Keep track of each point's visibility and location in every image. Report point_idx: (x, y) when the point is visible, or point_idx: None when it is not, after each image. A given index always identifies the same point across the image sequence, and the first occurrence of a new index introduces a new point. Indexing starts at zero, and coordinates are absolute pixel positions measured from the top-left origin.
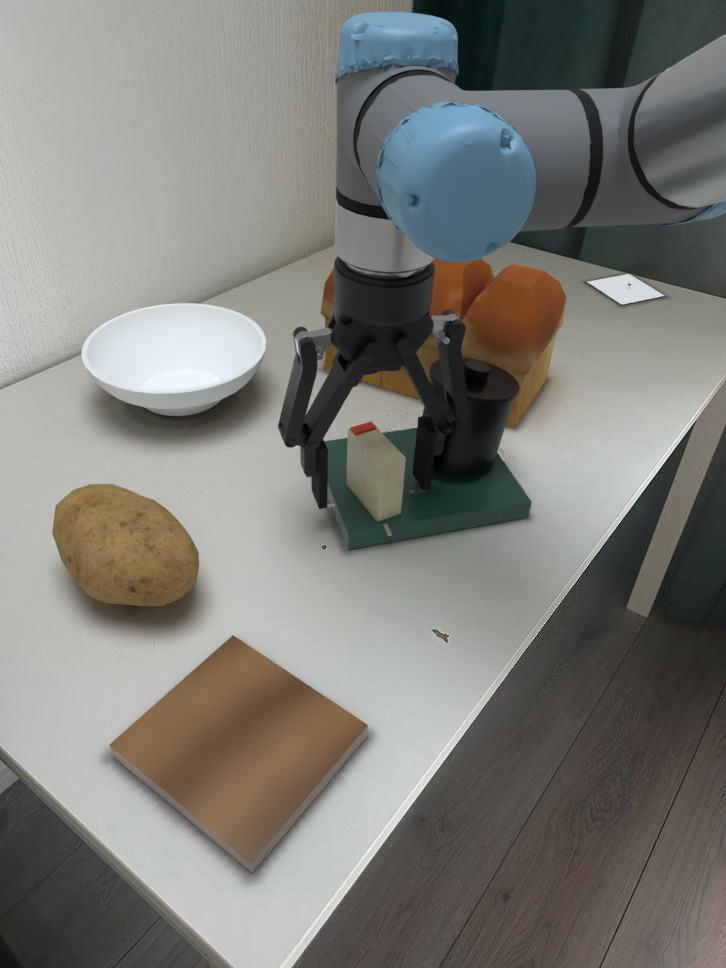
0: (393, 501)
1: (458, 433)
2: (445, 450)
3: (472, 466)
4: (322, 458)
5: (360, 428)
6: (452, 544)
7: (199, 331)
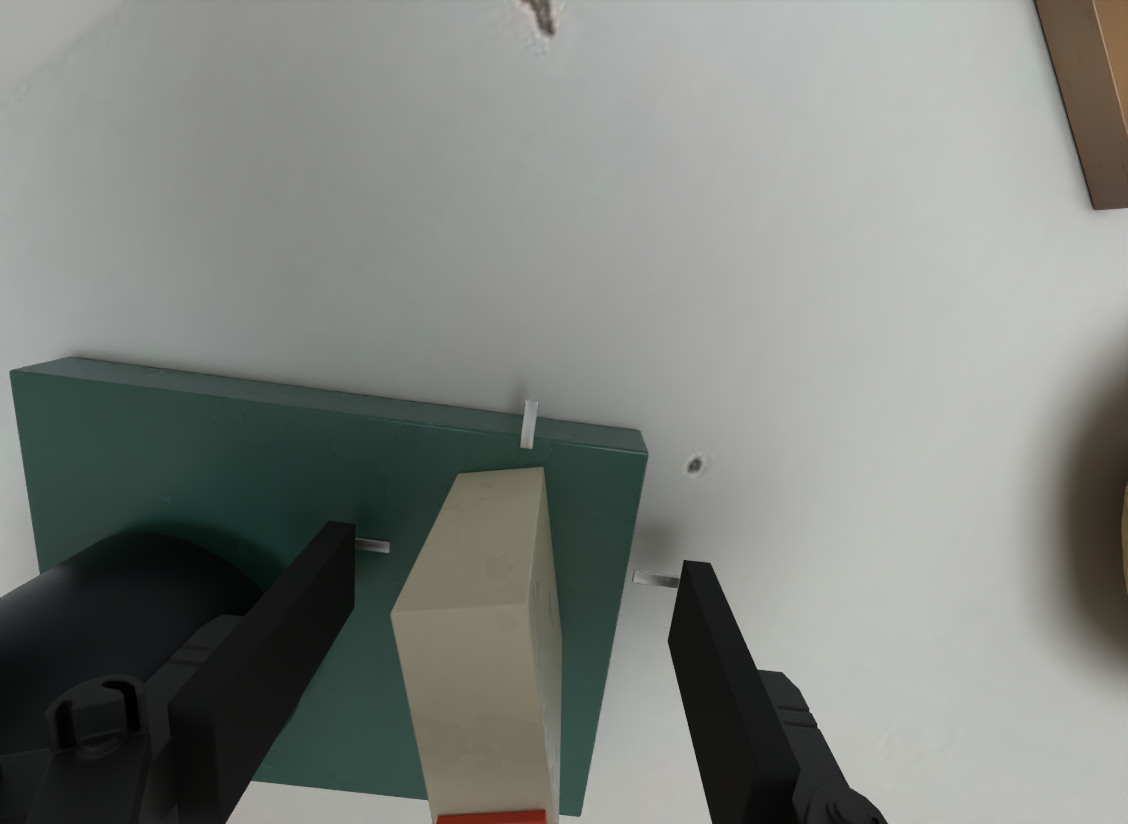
0: (480, 498)
1: None
2: None
3: (137, 556)
4: (769, 727)
5: None
6: (344, 340)
7: None
